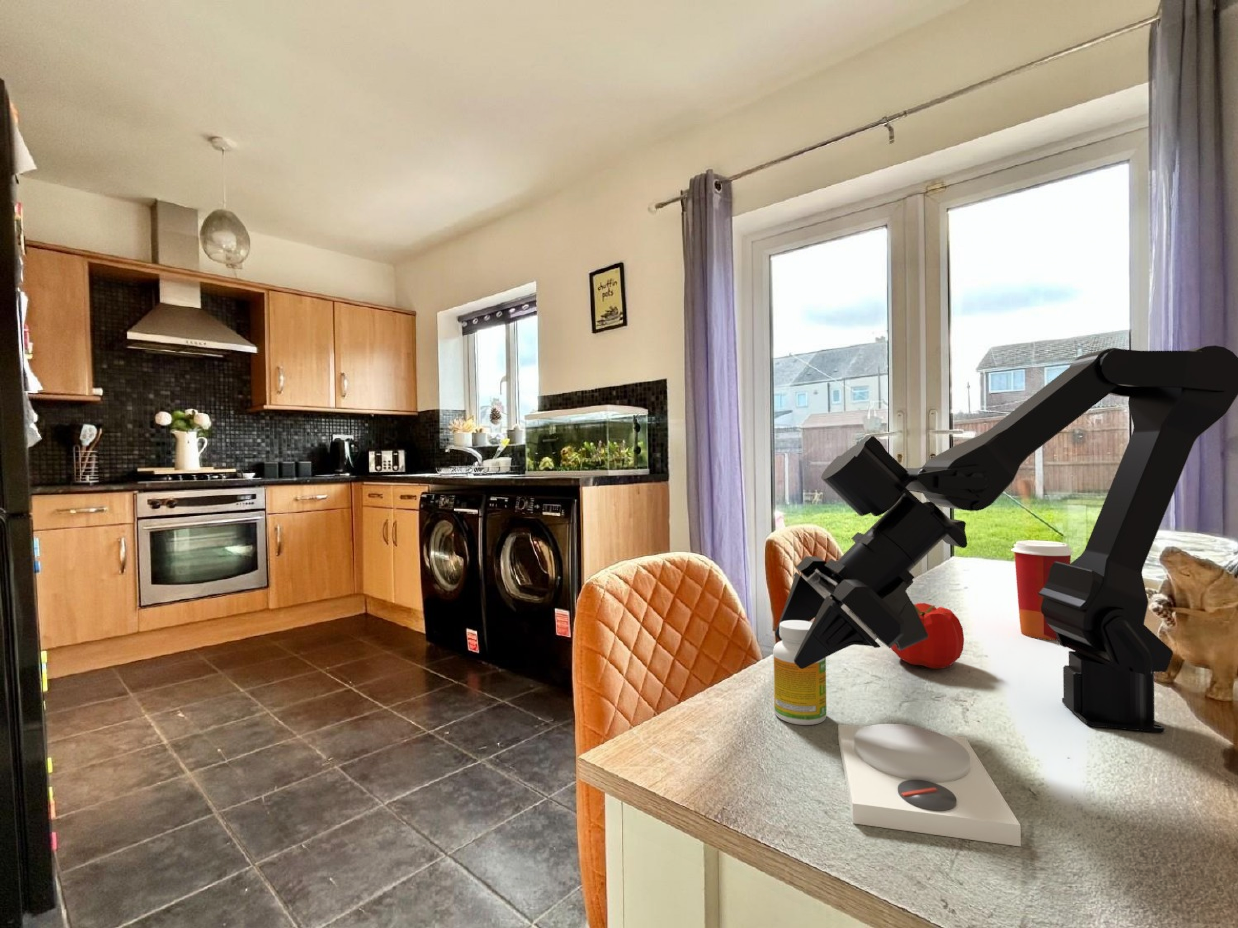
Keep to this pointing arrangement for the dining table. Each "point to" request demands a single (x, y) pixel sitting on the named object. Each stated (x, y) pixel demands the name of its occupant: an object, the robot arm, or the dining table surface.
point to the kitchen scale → (922, 784)
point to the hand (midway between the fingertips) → (786, 650)
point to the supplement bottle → (797, 679)
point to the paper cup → (1036, 582)
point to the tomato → (935, 639)
